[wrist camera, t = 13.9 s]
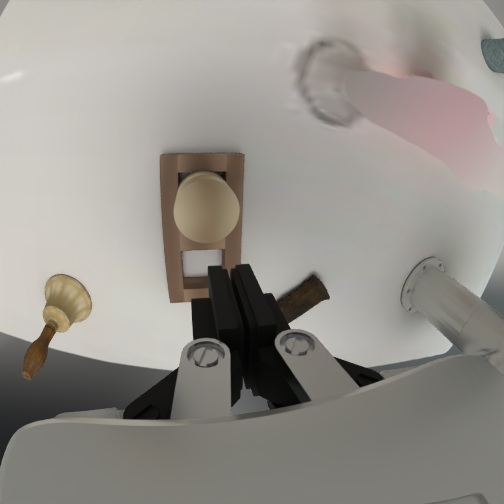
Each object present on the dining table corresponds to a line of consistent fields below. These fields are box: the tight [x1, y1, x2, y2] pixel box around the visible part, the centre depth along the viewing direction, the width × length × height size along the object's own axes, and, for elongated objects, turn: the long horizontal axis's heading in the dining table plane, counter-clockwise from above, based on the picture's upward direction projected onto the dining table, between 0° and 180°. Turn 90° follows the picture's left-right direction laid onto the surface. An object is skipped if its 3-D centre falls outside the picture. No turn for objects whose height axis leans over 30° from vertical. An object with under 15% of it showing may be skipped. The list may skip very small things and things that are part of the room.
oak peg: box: [174, 170, 240, 243], centre depth 27 cm, size 6×6×10 cm
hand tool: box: [277, 275, 330, 323], centre depth 39 cm, size 19×4×5 cm, turn 121°
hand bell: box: [22, 275, 91, 380], centre depth 26 cm, size 8×8×16 cm
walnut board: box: [160, 153, 245, 303], centre depth 32 cm, size 9×18×3 cm, turn 177°
